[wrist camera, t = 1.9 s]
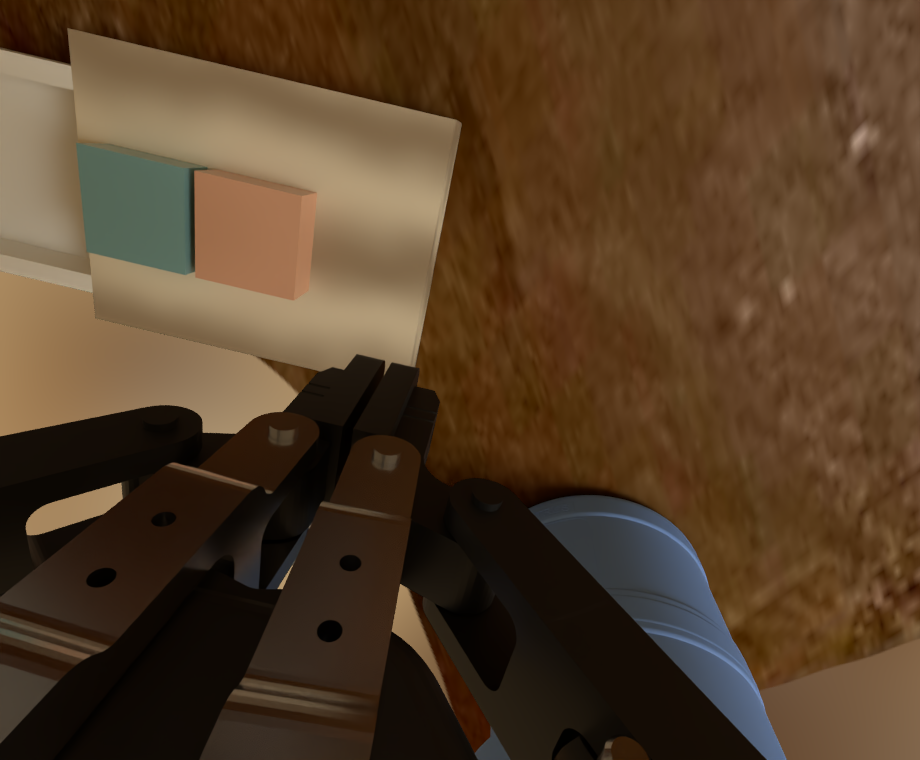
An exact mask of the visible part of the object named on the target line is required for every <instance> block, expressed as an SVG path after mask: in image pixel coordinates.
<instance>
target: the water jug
mask: <svg viewBox="0 0 920 760" xmlns="http://www.w3.org/2000/svg"><path fill="white" fill-rule="evenodd" d="M529 510H530V511H531V512H532V513H533V514H534V515H535V516H536V517H537V518H538V520H539V521H540V522H541V523H542V524H543V525H544V526H545V527H546V528H547V529H548V530H549V531H550V532H551V533H552V534H553V535H554V536H555V537H556V538H557V539H558V541H559V542H560V543H561V544H562V545H563V546H564V547H565V548H566V549H567V550H568V551H569V552H570V553H571V554H572V555H573V556H574V557H575V558H576V559H577V561H578V562H579V563H580V564H581V565H582V566H583V567H584V568H585V569H586V570H587V571H588V572H589V573H590V574H591V575H592V576H593V577H594V578H595V579H596V581H597V582H598V583H599V584H600V585H601V586H602V587H603V588H604V589H605V590H606V591H607V592H608V593H609V594H610V595H611V596H612V597H613V598H614V599H615V601H616V602H617V603H618V604H619V605H620V606H621V607H622V608H623V609H624V610H625V611H626V612H627V613H628V614H629V615H630V616H631V617H632V618H633V619H634V621H635V622H636V623H637V624H638V625H639V626H640V627H641V628H642V629H643V630H644V631H645V632H646V633H647V634H648V635H649V636H650V637H651V638H652V639H653V640H654V642H655V643H656V644H657V645H658V646H659V647H660V648H661V649H662V650H663V651H664V652H665V653H666V654H667V655H668V656H669V657H670V658H671V659H672V660H673V662H674V663H675V664H676V665H677V666H678V667H679V668H680V669H681V670H682V671H683V672H684V673H685V674H686V675H687V676H688V677H689V678H690V679H691V680H692V682H693V683H694V684H695V685H696V686H697V687H698V688H699V689H700V690H701V691H702V692H703V693H704V694H705V695H706V696H707V697H708V698H709V699H710V700H711V702H712V703H713V704H714V705H715V706H716V707H717V708H718V709H719V710H720V711H721V712H722V713H723V714H724V715H725V716H726V717H727V718H728V719H729V720H730V722H731V723H732V724H733V725H734V726H735V727H736V728H737V729H738V730H739V731H740V732H741V733H742V734H743V735H744V736H745V737H746V738H747V739H748V740H749V741H750V743H751V744H752V745H753V746H754V747H755V748H756V749H757V750H758V751H759V752H760V753H761V754H762V755H763V756H764V757H765V758H766V759H767V760H787V759H786V757H785V755H784V753H783V751H782V748H781V746H780V744H779V742H778V739H777V737H776V735H775V733H774V731H773V728H772V726H771V724H770V722H769V719H768V717H767V715H766V713H765V708H764V704H763V701H762V698H761V696H760V693H759V690H758V688H757V685H756V683H755V681H754V679H753V677H752V674H751V672H750V670H749V668H748V666H747V663H746V661H745V659H744V658H743V656H742V654H741V652H740V651H739V649H738V647H737V646H736V644H735V643H734V641H733V640H732V637H731V635H730V633H729V631H728V629H727V626H726V624H725V622H724V620H723V617H722V615H721V613H720V611H719V609H718V606H717V604H716V602H715V600H714V597H713V595H712V593H711V591H710V589H709V585H708V581H707V577H706V574H705V572H704V569H703V567H702V565H701V563H700V561H699V559H698V556H697V554H696V552H695V550H694V548H693V547H692V545H691V544H690V542H689V541H688V539H687V538H686V537H685V536H684V534H683V533H682V532H681V531H680V530H679V529H678V528H677V527H676V526H675V525H673V524H672V523H671V522H670V521H669V520H667V519H666V518H664V517H663V516H661V515H660V514H658V513H656V512H655V511H653V510H651V509H649V508H647V507H645V506H642V505H640V504H637V503H634V502H631V501H628V500H624V499H620V498H615V497H609V496H600V495H577V496H568V497H562V498H557V499H553V500H549V501H546V502H543V503H540V504H538V505H535V506H533V507H531V508H529ZM475 755H476V757H477V759H478V760H510V758H509V756H508V754H507V753H506V751H505V749H504V748H503V746H502V744H501V743H500V741H499V739H498V737H497V736H496V734H495V732H494V731H493V729H492V727H491V737H490V738H489V739H488V740H487V741H486V742H485V743H484V744H483V745H482V746H481V747H480V748H479V749H478V750H477V751H476V753H475Z"/></svg>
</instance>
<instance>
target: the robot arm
mask: <svg viewBox="0 0 920 760" xmlns="http://www.w3.org/2000/svg"><path fill="white" fill-rule="evenodd" d="M384 372H385V360H381V359H377V358H372V357H368V356H364V355H360V354H356V355H355V357H354V358H353V359H352V360H351V362H350V363H349V364H348V366H347V367H346V368H345V370H343V369H339V368H335V367H331V368H329V369H326V370H324V371H321V372H319V373H317V374H316V375H315V376H314V377H313V378H312V380H311V381H310V382H309V384H307V385H306V386H305V388H304V389H303V390H302V392H300V393H299V394H298V395H297V397H296V398H295V399H294V400H293V401H292V402H291V403H290V405H289V406H288V407H287V408H286V409H285V410H284V411H283V412H274V413H268V414H264V415H261V416H259V417H257V418H254V419H253V420H252V421H251V422H249V423H248V424H247V425H246V426H245V427H244V428H243V429H241V430H240V431H239V432H238V433H237V434H223V433H202V419H201V417H200V416H199V415H198V414H197V413H195V412H194V411H192V410H190V409H187V408H183V407H179V406H170V405H165V406H164V405H160V406H151V407H145V408H140V409H135V410H130V411H125V412H120V413H115V414H110V415H105V416H100V417H95V418H90V419H85V420H80V421H75V422H70V423H65V424H60V425H56V426H50V427H45V428H40V429H35V430H30V431H25V432H20V433H16V434H10V435H6V436H0V760H478V759H477V757H476V755H475V753H474V751H473V749H472V747H471V745H470V743H469V741H468V740H467V738H466V736H465V734H464V732H463V730H462V728H461V726H460V724H459V722H458V720H457V718H456V716H455V714H454V712H453V710H452V708H451V706H450V705H449V703H448V701H447V699H446V697H445V695H444V693H443V691H442V689H441V687H440V685H439V683H438V681H437V680H436V678H435V676H434V675H433V673H432V672H431V670H430V669H429V667H428V666H427V664H426V663H425V662H424V661H423V659H422V658H421V657H420V656H419V655H418V654H417V652H416V651H415V650H414V649H413V648H412V647H411V646H410V645H409V644H407V643H406V642H405V641H404V640H403V639H402V638H400V637H399V636H397V635H396V634H394V633H393V632H392V625H393V619H394V614H395V609H396V603H397V597H398V592H399V586H400V584H402V585H403V586H405V587H407V588H409V589H410V590H412V591H414V592H416V593H417V594H419V595H421V596H423V609H424V612H425V615H426V617H427V618H428V620H429V622H430V623H431V625H432V627H433V629H434V630H435V632H436V634H437V635H438V637H439V639H440V640H441V642H442V644H443V646H444V647H445V649H446V651H447V652H448V654H449V656H450V658H451V659H452V661H453V663H454V664H455V666H456V668H457V669H458V671H459V673H460V675H461V676H462V678H463V680H464V681H465V683H466V685H467V686H468V688H469V690H470V692H471V693H472V695H473V697H474V698H475V700H476V702H477V703H478V705H479V707H480V709H481V710H482V712H483V714H484V715H485V717H486V719H487V720H488V722H489V724H490V726H491V727H492V729H493V731H494V732H495V734H496V736H497V737H498V739H499V741H500V743H501V744H502V746H503V748H504V749H505V751H506V753H507V754H508V756H509V758H510V760H767V759H766V758H765V757H764V756H763V755H762V754H761V753H760V752H759V751H758V750H757V749H756V748H755V747H754V746H753V745H752V744H751V743H750V741H749V740H748V739H747V738H746V737H745V736H744V735H743V734H742V733H741V732H740V731H739V730H738V729H737V728H736V727H735V726H734V725H733V724H732V723H731V722H730V720H729V719H728V718H727V717H726V716H725V715H724V714H723V713H722V712H721V711H720V710H719V709H718V708H717V707H716V706H715V705H714V704H713V703H712V702H711V700H710V699H709V698H708V697H707V696H706V695H705V694H704V693H703V692H702V691H701V690H700V689H699V688H698V687H697V686H696V685H695V684H694V683H693V682H692V680H691V679H690V678H689V677H688V676H687V675H686V674H685V673H684V672H683V671H682V670H681V669H680V668H679V667H678V666H677V665H676V664H675V663H674V662H673V660H672V659H671V658H670V657H669V656H668V655H667V654H666V653H665V652H664V651H663V650H662V649H661V648H660V647H659V646H658V645H657V644H656V643H655V642H654V640H653V639H652V638H651V637H650V636H649V635H648V634H647V633H646V632H645V631H644V630H643V629H642V628H641V627H640V626H639V625H638V624H637V623H636V622H635V621H634V619H633V618H632V617H631V616H630V615H629V614H628V613H627V612H626V611H625V610H624V609H623V608H622V607H621V606H620V605H619V604H618V603H617V602H616V601H615V599H614V598H613V597H612V596H611V595H610V594H609V593H608V592H607V591H606V590H605V589H604V588H603V587H602V586H601V585H600V584H599V583H598V582H597V581H596V579H595V578H594V577H593V576H592V575H591V574H590V573H589V572H588V571H587V570H586V569H585V568H584V567H583V566H582V565H581V564H580V563H579V562H578V561H577V559H576V558H575V557H574V556H573V555H572V554H571V553H570V552H569V551H568V550H567V549H566V548H565V547H564V546H563V545H562V544H561V543H560V542H559V541H558V539H557V538H556V537H555V536H554V535H553V534H552V533H551V532H550V531H549V530H548V529H547V528H546V527H545V526H544V525H543V524H542V523H541V522H540V521H539V520H538V518H537V517H536V516H535V515H534V514H533V513H532V512H531V511H530V510H529V509H528V508H527V507H526V506H525V505H524V504H523V503H522V502H521V501H520V500H519V498H518V497H517V496H516V495H515V494H514V493H513V492H511V491H510V490H509V489H508V488H506V487H504V486H503V485H501V484H499V483H496V482H493V481H490V480H486V479H479V478H471V479H465V480H462V481H459V482H457V483H456V484H455V485H454V486H453V487H450V486H448V485H446V484H444V483H442V482H441V481H439V480H438V479H436V478H435V477H434V476H433V475H431V473H430V472H429V471H428V470H427V468H426V466H425V463H426V460H427V456H428V453H429V448H430V444H431V439H432V435H433V430H434V426H435V421H436V417H437V412H438V408H439V403H440V401H439V399H438V397H437V395H436V393H435V391H433V390H428V389H424V388H420V387H417V382H418V377H419V368H415V367H411V366H407V365H402V364H398V363H394V362H392V363H391V364H390V366H389V368H388V369H387V371H386V373H385V375H384ZM117 483H122V495H123V499H122V500H121V501H120V502H119V503H117V504H116V505H115V506H114V507H112V508H111V509H110V510H109V511H107V512H106V513H105V514H103V515H100V516H96V517H93V518H90V519H87V520H85V521H81V522H78V523H75V524H72V525H68V526H65V527H62V528H59V529H56V530H53V531H50V532H46V533H44V534H39V535H31V536H30V535H27V534H26V527H25V526H26V522H27V520H28V518H29V517H30V515H31V514H32V513H33V512H34V511H36V510H37V509H39V508H40V507H42V506H44V505H46V504H48V503H51V502H55V501H58V500H62V499H65V498H69V497H72V496H76V495H79V494H83V493H86V492H89V491H93V490H96V489H100V488H103V487H107V486H110V485H114V484H117ZM311 523H312V524H311ZM310 525H311V526H310ZM309 526H310V528H309ZM294 561H295V562H294ZM293 563H294V565H293V567H292V569H291V571H290V574H289V576H288V578H287V580H286V583H285V585H284V587H283V589H277V588H278V587H279V585H280V583H281V582H282V580H283V579H284V577H285V575H286V574H287V572H288V571H289V569H290V567H291V566H292V564H293Z"/></svg>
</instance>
